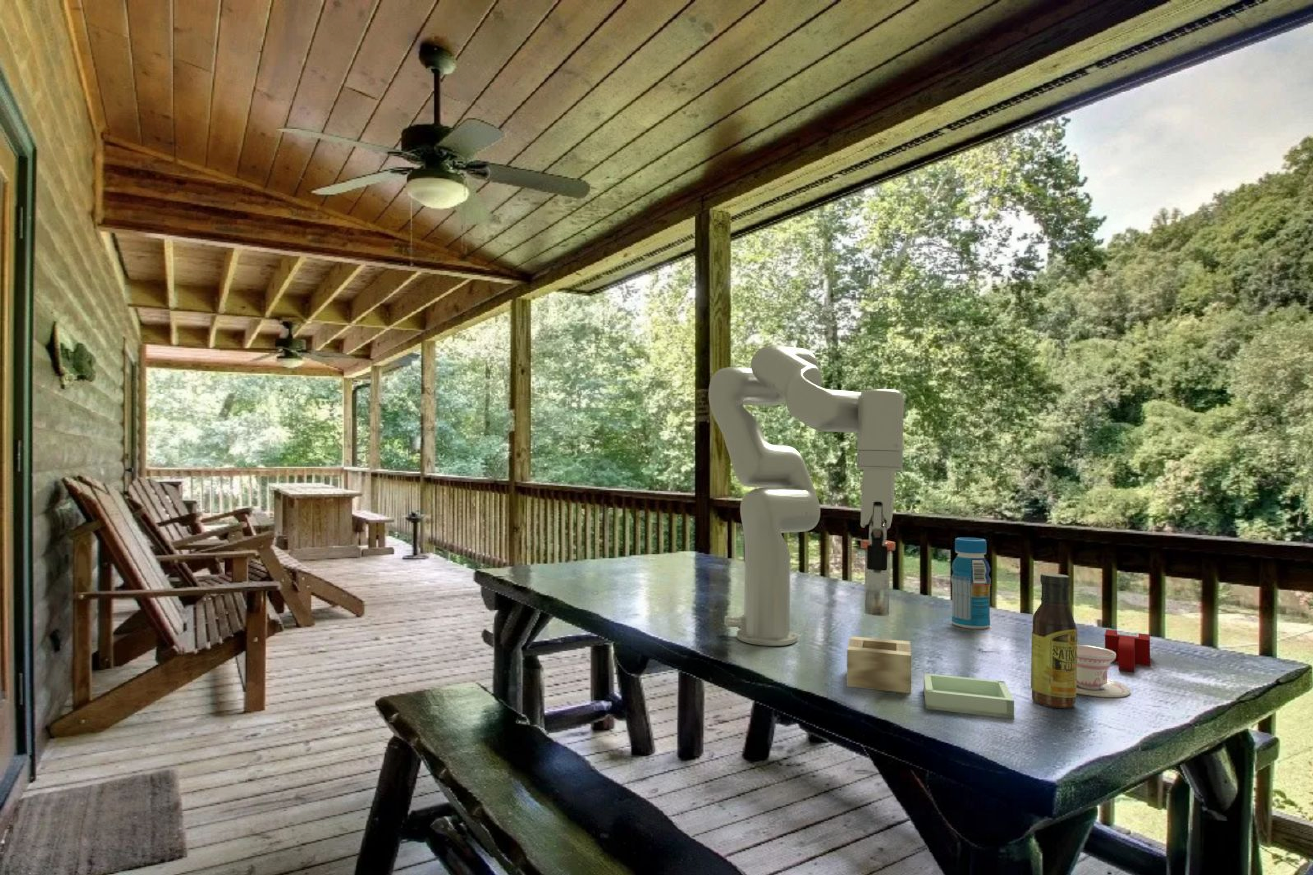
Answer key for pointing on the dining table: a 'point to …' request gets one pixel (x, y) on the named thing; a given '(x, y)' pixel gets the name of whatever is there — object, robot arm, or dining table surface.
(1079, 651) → the teacup
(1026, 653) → the dining table surface
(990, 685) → the tray
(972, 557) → the beverage bottle
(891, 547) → the pin
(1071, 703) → the sauce bottle
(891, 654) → the socket block
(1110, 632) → the mechanical linkage
